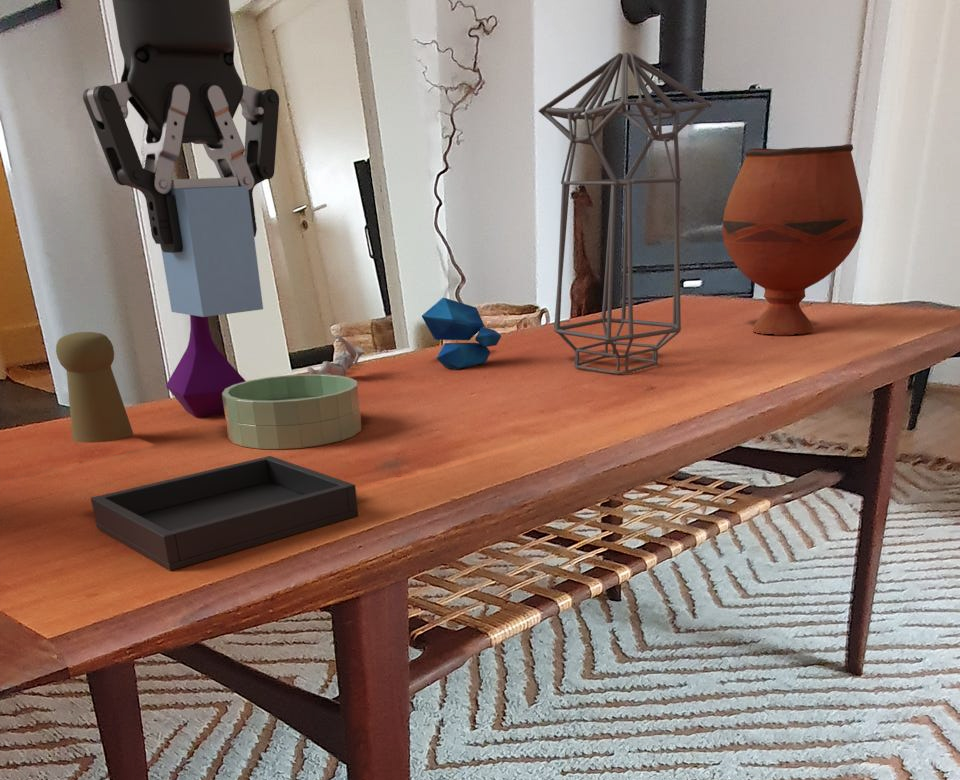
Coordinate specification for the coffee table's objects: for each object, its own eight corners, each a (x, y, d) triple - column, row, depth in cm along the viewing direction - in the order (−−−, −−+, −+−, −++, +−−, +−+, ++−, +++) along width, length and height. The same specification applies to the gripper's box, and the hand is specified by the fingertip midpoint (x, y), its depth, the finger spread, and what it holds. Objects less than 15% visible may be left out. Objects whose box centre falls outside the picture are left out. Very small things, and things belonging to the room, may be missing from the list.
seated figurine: (284, 399, 119) (317, 352, 127) (317, 423, 121) (347, 375, 129) (315, 358, 114) (346, 311, 122) (348, 384, 116) (377, 336, 124)
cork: (60, 452, 96) (33, 337, 91) (98, 437, 101) (75, 328, 96) (111, 455, 94) (87, 338, 89) (148, 439, 99) (127, 328, 94)
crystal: (515, 308, 128) (448, 296, 120) (506, 375, 131) (439, 368, 123) (478, 304, 133) (410, 292, 125) (469, 369, 136) (403, 361, 128)
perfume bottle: (255, 416, 107) (231, 241, 99) (188, 426, 104) (157, 246, 96) (234, 404, 113) (210, 238, 105) (170, 414, 110) (140, 243, 102)
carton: (203, 317, 70) (182, 179, 66) (171, 312, 73) (149, 180, 69) (263, 309, 73) (246, 176, 69) (230, 304, 76) (212, 178, 72)
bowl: (273, 462, 90) (266, 408, 87) (206, 439, 99) (198, 389, 96) (387, 435, 97) (383, 384, 95) (315, 415, 106) (310, 369, 104)
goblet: (696, 326, 153) (706, 150, 142) (809, 319, 156) (828, 145, 145) (747, 345, 136) (764, 146, 125) (873, 336, 139) (900, 141, 128)
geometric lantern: (531, 368, 126) (528, 57, 111) (612, 351, 135) (619, 61, 120) (623, 384, 115) (634, 41, 100) (704, 364, 125) (725, 48, 109)
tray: (170, 571, 66) (163, 536, 64) (97, 528, 74) (90, 497, 73) (358, 515, 75) (355, 484, 74) (274, 483, 83) (270, 455, 82)
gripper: (235, -12, 70) (266, 240, 78) (36, -30, 62) (92, 255, 69) (291, -28, 65) (318, 243, 73) (82, -51, 57) (137, 259, 64)
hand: (207, 247), depth 71 cm, fingers closed on carton, 5 cm apart
